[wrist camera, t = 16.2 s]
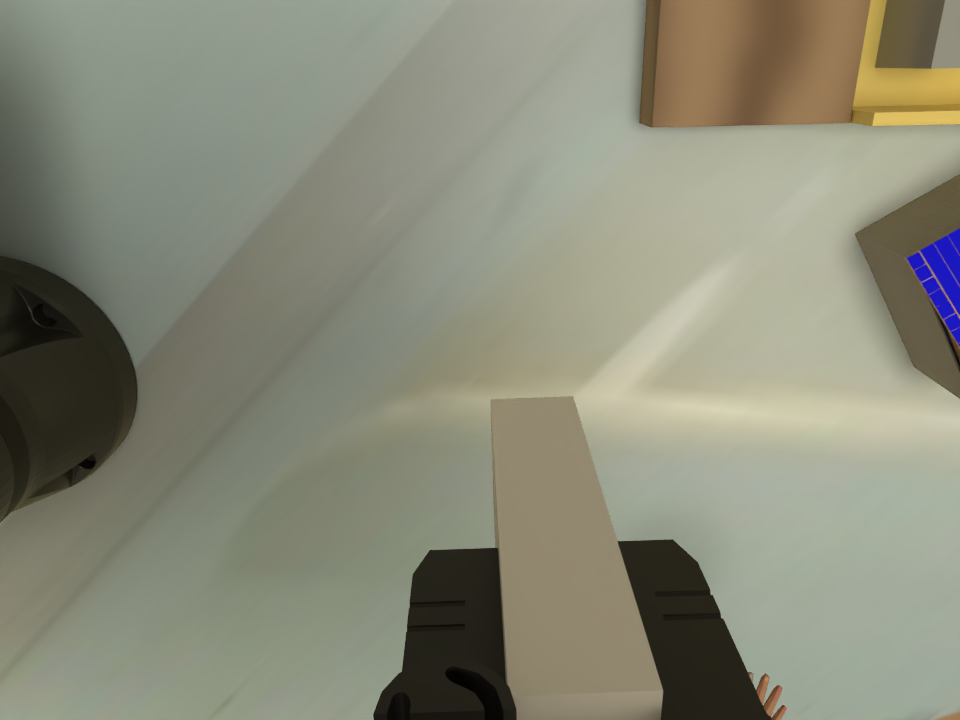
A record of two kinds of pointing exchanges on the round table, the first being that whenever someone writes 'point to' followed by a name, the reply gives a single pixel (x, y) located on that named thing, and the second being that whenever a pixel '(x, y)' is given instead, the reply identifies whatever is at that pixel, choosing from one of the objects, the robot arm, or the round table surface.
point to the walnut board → (751, 61)
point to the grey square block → (920, 35)
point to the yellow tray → (901, 87)
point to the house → (922, 278)
